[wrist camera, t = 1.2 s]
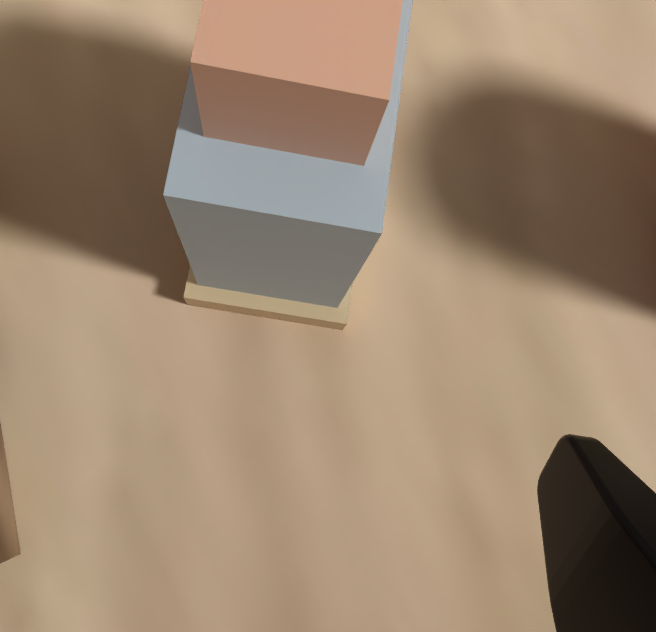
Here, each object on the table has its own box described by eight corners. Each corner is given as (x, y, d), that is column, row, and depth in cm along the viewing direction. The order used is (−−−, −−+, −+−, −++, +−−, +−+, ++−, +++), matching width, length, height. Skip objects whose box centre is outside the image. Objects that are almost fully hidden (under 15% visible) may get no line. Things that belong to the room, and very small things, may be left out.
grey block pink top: (342, 330, 23) (431, 212, 11) (187, 305, 22) (108, 155, 11) (373, 106, 25) (478, -197, 13) (231, 79, 24) (206, -260, 12)
